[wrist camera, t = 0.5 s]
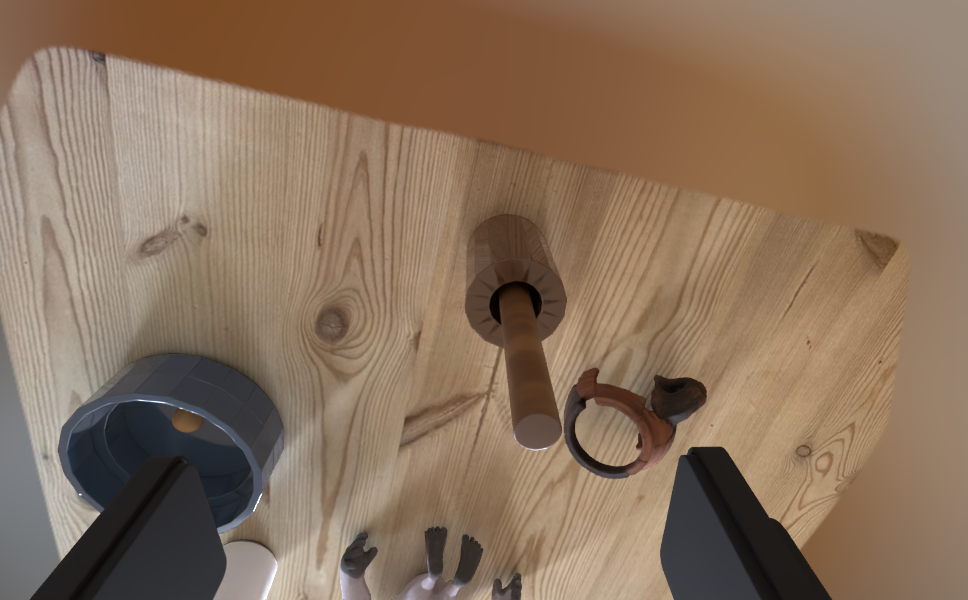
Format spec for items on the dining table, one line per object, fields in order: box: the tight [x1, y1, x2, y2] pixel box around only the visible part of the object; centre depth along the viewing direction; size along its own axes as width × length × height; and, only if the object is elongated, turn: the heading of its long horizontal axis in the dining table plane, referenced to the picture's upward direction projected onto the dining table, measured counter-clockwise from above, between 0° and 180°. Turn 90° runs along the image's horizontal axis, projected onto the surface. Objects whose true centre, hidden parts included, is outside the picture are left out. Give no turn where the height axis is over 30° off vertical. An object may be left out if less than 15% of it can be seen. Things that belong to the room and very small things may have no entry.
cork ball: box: [172, 408, 205, 433], centre depth 43 cm, size 2×2×2 cm
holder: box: [465, 214, 567, 348], centre depth 35 cm, size 6×6×9 cm
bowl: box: [58, 353, 284, 534], centre depth 43 cm, size 15×15×6 cm
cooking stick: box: [498, 281, 562, 450], centre depth 30 cm, size 2×2×20 cm
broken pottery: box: [564, 368, 707, 479], centre depth 43 cm, size 12×10×8 cm
